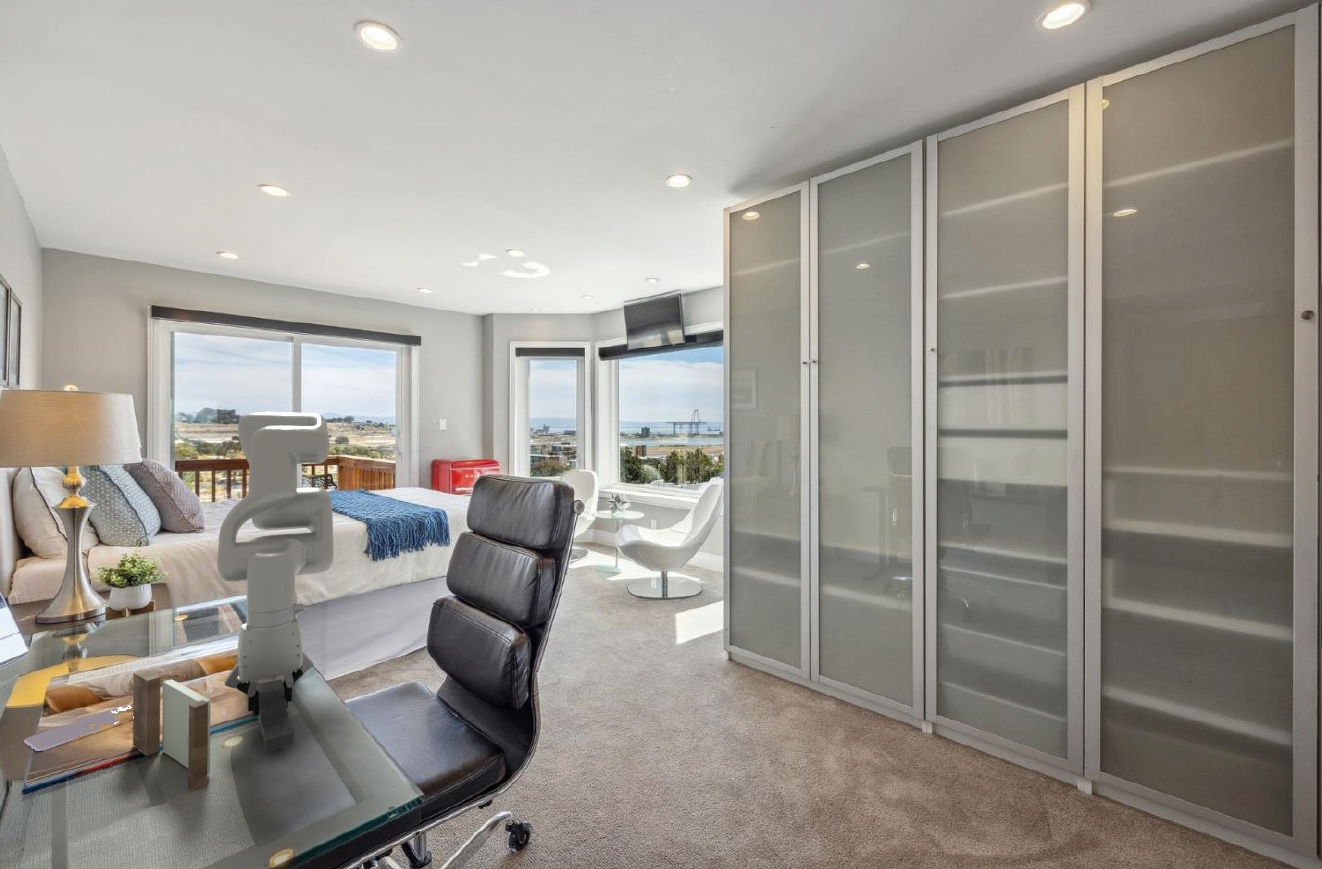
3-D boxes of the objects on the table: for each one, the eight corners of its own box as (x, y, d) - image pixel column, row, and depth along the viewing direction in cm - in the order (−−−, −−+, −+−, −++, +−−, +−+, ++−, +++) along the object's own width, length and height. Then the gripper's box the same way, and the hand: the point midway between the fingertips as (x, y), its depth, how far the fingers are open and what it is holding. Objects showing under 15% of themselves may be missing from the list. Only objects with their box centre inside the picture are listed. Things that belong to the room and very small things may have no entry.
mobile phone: (21, 737, 102) (130, 702, 115) (21, 743, 102) (130, 707, 115) (38, 749, 98) (148, 711, 112) (38, 755, 98) (148, 716, 112)
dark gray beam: (256, 710, 110) (256, 684, 109) (281, 703, 112) (281, 678, 112) (266, 751, 97) (266, 723, 97) (293, 743, 100) (294, 715, 100)
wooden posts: (132, 746, 101) (133, 672, 101) (145, 741, 103) (146, 669, 102) (193, 790, 90) (194, 707, 89) (207, 784, 91) (207, 702, 91)
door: (153, 752, 99) (153, 682, 99) (169, 745, 101) (169, 677, 100) (193, 780, 91) (194, 705, 91) (209, 773, 93) (210, 700, 93)
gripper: (318, 601, 117) (317, 689, 118) (213, 618, 106) (213, 714, 107) (325, 612, 111) (324, 704, 112) (215, 631, 100) (215, 733, 101)
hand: (270, 708), depth 109 cm, fingers closed on dark gray beam, 4 cm apart
